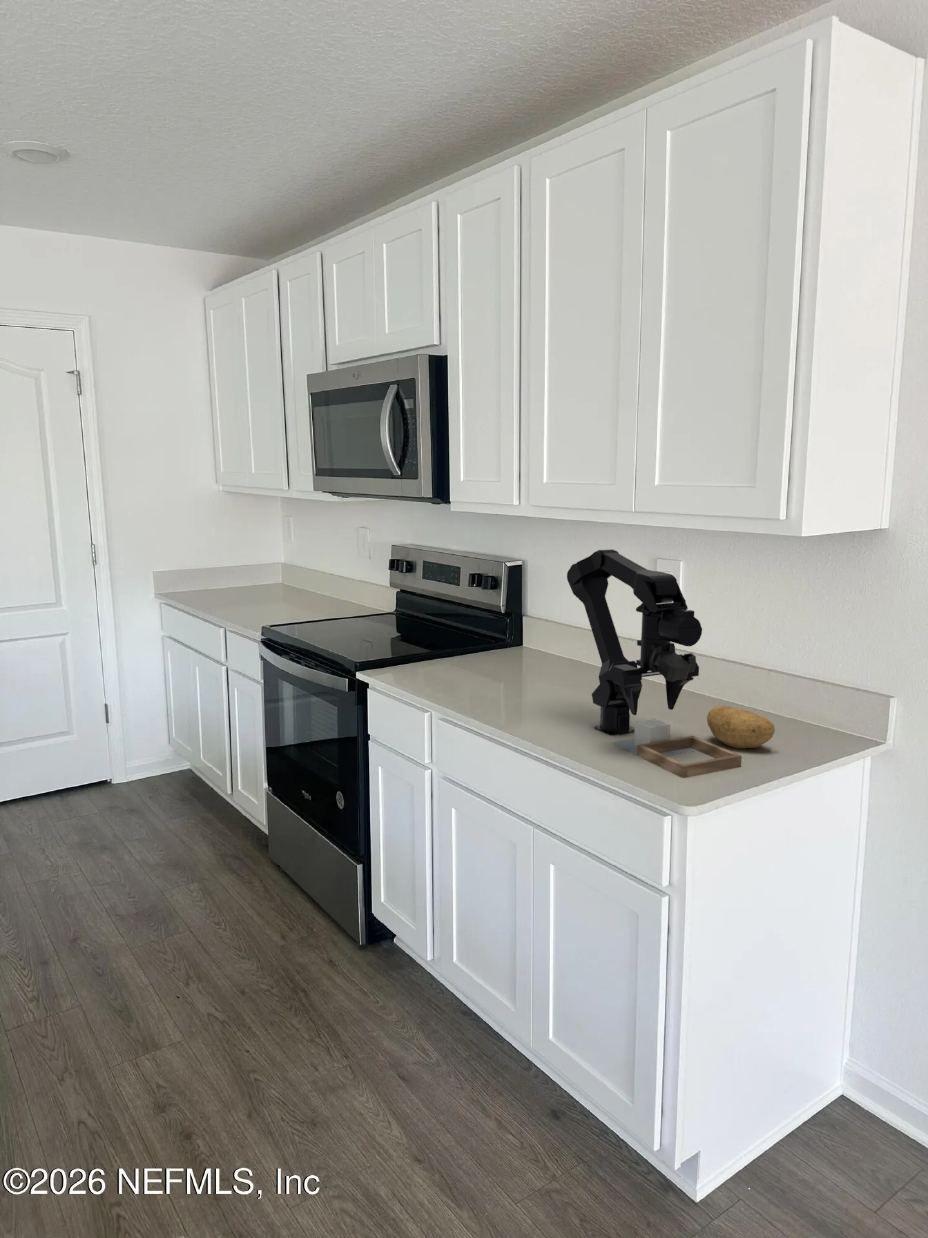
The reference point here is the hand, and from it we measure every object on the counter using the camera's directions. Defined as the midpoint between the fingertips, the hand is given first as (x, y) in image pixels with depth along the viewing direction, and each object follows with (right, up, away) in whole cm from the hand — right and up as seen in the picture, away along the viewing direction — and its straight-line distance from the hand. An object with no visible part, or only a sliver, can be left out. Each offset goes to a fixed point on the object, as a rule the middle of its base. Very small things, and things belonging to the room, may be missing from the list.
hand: (652, 712), depth 176 cm
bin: (+5, -9, -7) cm, 13 cm away
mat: (0, -8, +1) cm, 8 cm away
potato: (+18, -8, +2) cm, 20 cm away
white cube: (0, -7, +1) cm, 7 cm away
